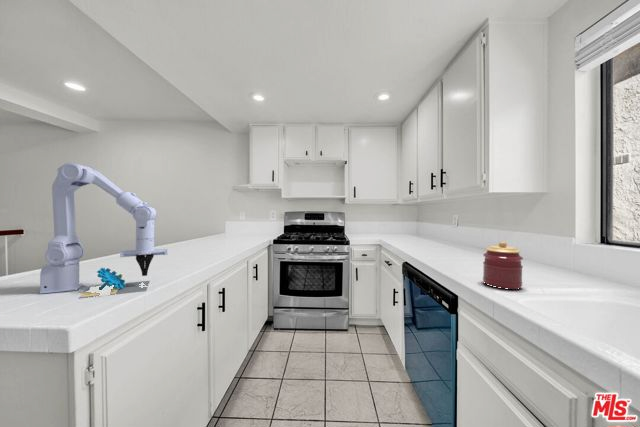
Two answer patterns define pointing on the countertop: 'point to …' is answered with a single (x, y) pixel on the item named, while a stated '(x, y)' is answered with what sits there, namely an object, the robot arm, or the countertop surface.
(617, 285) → the countertop surface
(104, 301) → the countertop surface
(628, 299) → the countertop surface
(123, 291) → the mat
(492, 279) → the canister
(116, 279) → the gear
